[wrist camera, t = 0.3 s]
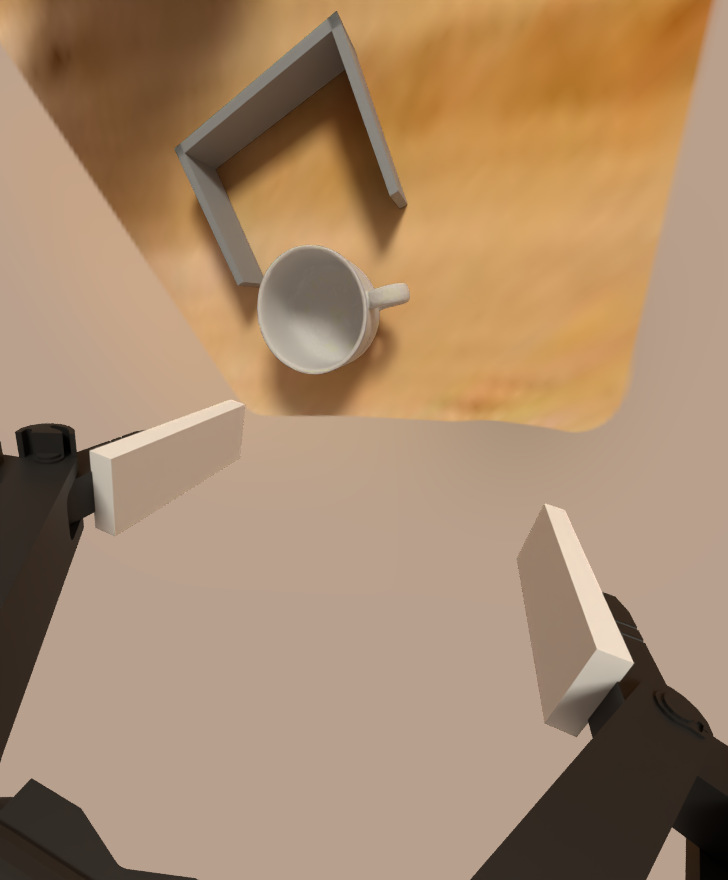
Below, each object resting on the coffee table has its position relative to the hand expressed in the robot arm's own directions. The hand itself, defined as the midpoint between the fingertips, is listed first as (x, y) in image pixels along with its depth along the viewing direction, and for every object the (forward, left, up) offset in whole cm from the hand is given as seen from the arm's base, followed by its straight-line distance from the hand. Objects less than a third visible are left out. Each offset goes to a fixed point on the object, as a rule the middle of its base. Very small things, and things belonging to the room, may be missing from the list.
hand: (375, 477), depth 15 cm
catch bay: (-22, -6, -26) cm, 34 cm away
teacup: (-9, -6, -26) cm, 28 cm away
